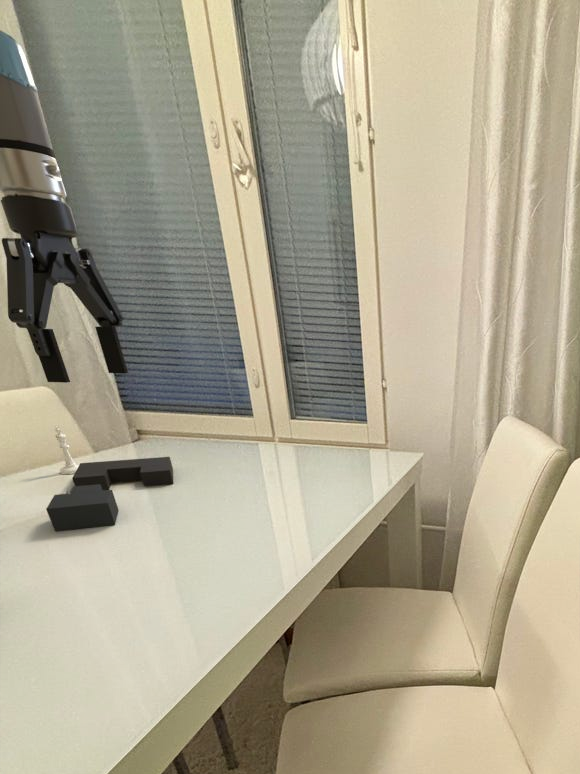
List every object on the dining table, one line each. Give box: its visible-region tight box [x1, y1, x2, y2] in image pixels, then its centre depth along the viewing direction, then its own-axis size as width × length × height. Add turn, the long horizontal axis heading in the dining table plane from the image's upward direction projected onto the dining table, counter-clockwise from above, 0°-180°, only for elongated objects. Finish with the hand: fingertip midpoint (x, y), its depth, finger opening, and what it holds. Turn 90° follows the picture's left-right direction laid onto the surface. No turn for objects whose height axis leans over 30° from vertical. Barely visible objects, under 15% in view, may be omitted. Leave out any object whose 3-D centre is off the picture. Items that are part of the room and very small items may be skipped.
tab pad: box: [46, 484, 119, 532], centre depth 100 cm, size 9×14×4 cm, turn 26°
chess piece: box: [54, 425, 79, 475], centre depth 125 cm, size 5×5×10 cm
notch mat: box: [71, 456, 174, 490], centre depth 122 cm, size 18×14×3 cm
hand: (91, 377), depth 82 cm, fingers open, 13 cm apart
